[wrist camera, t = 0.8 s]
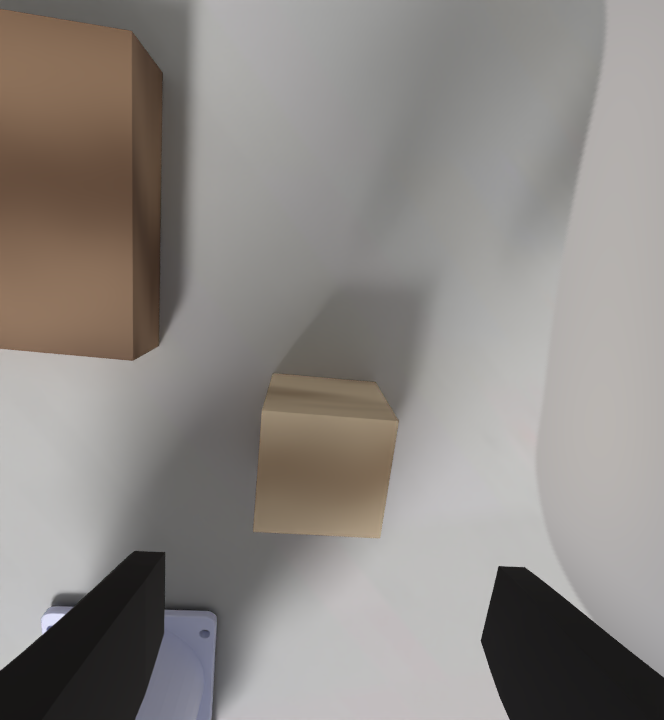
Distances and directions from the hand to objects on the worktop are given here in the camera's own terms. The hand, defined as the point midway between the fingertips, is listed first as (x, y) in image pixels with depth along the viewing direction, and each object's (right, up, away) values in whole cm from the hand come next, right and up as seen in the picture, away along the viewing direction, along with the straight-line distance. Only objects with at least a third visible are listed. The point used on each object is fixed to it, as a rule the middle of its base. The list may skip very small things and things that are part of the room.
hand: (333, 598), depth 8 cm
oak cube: (-1, +2, +9) cm, 10 cm away
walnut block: (-12, +11, +7) cm, 17 cm away
